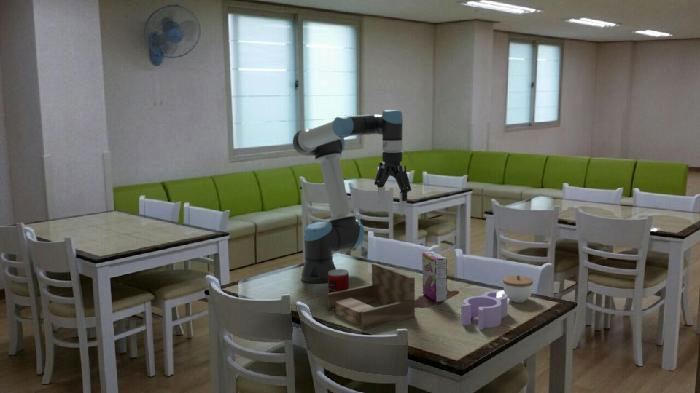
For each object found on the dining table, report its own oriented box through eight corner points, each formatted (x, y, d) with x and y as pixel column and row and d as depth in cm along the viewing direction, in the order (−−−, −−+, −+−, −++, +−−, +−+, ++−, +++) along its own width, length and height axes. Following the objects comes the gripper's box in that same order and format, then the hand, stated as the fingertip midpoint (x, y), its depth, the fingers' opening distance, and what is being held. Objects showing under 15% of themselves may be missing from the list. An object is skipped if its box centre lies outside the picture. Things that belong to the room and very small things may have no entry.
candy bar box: (421, 294, 244) (421, 252, 241) (433, 292, 246) (433, 250, 243) (435, 302, 233) (435, 259, 231) (447, 300, 235) (447, 257, 232)
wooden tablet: (425, 309, 227) (402, 300, 233) (424, 314, 228) (401, 306, 234) (461, 290, 248) (439, 283, 254) (460, 296, 248) (438, 288, 254)
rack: (327, 309, 231) (326, 272, 228) (375, 298, 242) (375, 262, 240) (363, 329, 211) (363, 288, 208) (414, 316, 222) (414, 277, 220)
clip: (484, 307, 230) (484, 289, 228) (516, 315, 221) (516, 296, 220) (454, 323, 215) (454, 303, 214) (487, 332, 207) (488, 311, 206)
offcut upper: (335, 308, 226) (335, 302, 226) (351, 304, 230) (351, 297, 230) (359, 319, 215) (358, 312, 215) (375, 314, 219) (375, 307, 219)
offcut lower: (335, 314, 227) (335, 308, 227) (352, 311, 231) (352, 304, 230) (356, 326, 215) (356, 319, 215) (373, 322, 219) (373, 315, 218)
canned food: (351, 297, 244) (350, 269, 242) (345, 304, 237) (345, 275, 235) (332, 296, 246) (331, 268, 244) (326, 302, 239) (325, 274, 237)
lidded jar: (499, 302, 235) (500, 277, 233) (506, 294, 244) (506, 270, 243) (529, 306, 230) (530, 280, 229) (535, 297, 240) (535, 273, 238)
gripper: (365, 149, 249) (365, 202, 253) (404, 154, 229) (404, 213, 232) (381, 148, 253) (381, 200, 257) (421, 153, 233) (420, 210, 236)
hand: (392, 206), depth 245 cm, fingers open, 13 cm apart
